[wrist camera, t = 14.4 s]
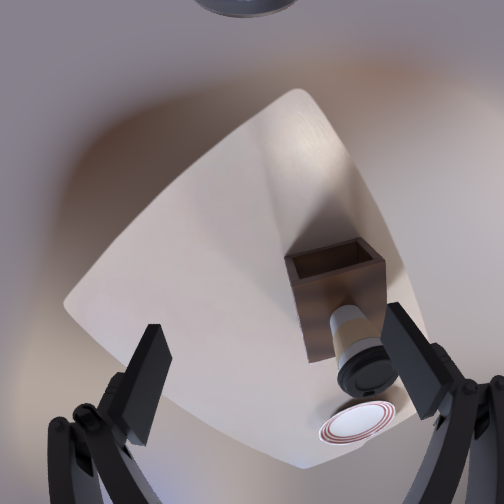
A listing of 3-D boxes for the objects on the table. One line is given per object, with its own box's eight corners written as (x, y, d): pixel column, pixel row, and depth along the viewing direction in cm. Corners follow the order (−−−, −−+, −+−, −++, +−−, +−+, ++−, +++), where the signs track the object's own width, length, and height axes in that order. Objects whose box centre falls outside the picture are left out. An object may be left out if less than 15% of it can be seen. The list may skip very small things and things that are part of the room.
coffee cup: (330, 346, 47) (351, 409, 33) (310, 311, 44) (330, 378, 30) (376, 322, 45) (408, 380, 31) (361, 285, 42) (399, 343, 28)
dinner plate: (307, 415, 73) (309, 424, 70) (389, 383, 69) (393, 391, 65) (328, 445, 82) (329, 451, 79) (394, 419, 78) (397, 425, 75)
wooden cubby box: (283, 257, 53) (291, 286, 42) (361, 236, 51) (385, 260, 41) (300, 328, 59) (308, 363, 49) (367, 309, 58) (386, 341, 47)
